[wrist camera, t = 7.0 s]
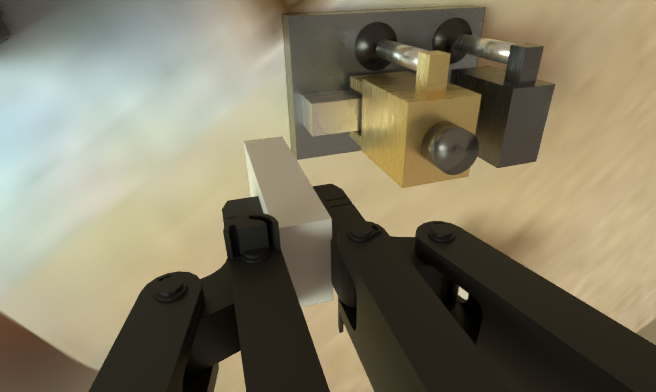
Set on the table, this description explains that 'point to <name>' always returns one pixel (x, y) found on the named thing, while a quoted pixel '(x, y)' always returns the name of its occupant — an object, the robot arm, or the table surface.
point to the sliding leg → (417, 118)
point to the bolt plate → (421, 32)
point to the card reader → (3, 30)
